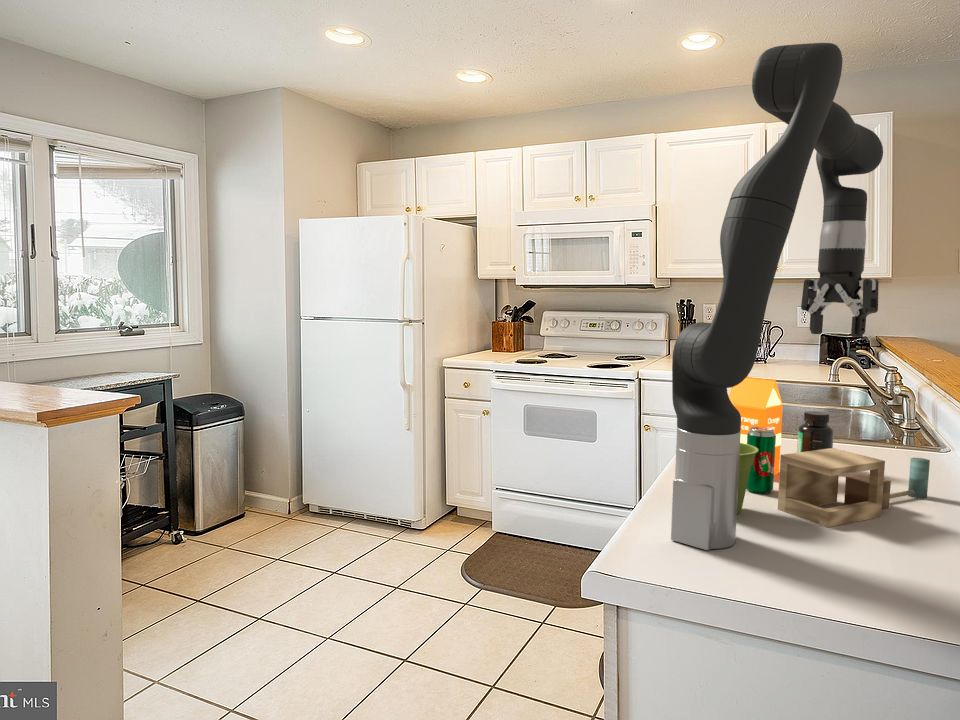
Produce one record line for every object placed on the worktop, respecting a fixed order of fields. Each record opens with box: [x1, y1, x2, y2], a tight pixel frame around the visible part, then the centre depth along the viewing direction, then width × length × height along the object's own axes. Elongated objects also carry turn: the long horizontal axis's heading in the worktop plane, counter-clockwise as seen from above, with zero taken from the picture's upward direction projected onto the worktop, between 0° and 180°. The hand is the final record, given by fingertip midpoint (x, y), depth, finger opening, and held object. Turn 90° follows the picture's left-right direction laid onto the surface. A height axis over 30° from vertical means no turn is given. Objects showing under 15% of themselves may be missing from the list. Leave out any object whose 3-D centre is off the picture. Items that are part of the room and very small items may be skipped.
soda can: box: [746, 427, 776, 495], centre depth 131 cm, size 5×5×12 cm
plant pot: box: [737, 443, 759, 514], centre depth 120 cm, size 12×12×11 cm
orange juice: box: [728, 376, 784, 476], centre depth 144 cm, size 8×9×20 cm
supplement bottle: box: [796, 410, 835, 453], centre depth 148 cm, size 7×7×12 cm
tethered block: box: [843, 457, 931, 511], centre depth 125 cm, size 18×5×7 cm, turn 114°
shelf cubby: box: [777, 447, 886, 528], centre depth 118 cm, size 13×10×10 cm
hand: (835, 335), depth 128 cm, fingers open, 8 cm apart
